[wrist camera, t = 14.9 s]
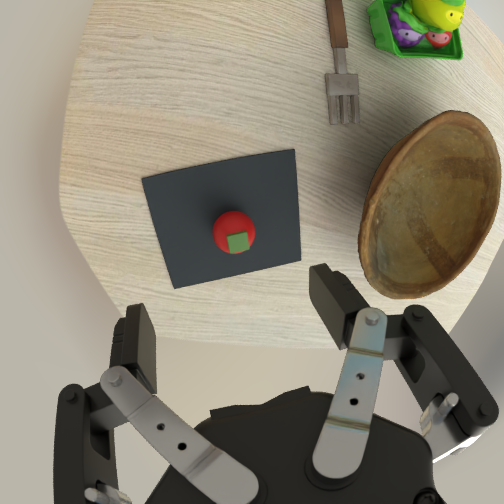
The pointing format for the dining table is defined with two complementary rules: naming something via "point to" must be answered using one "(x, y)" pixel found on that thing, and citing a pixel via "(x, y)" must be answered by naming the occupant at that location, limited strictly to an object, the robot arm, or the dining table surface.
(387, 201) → the bowl
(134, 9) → the dining table surface
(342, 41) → the fork
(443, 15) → the fruit basket
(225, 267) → the placemat
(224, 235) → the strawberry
